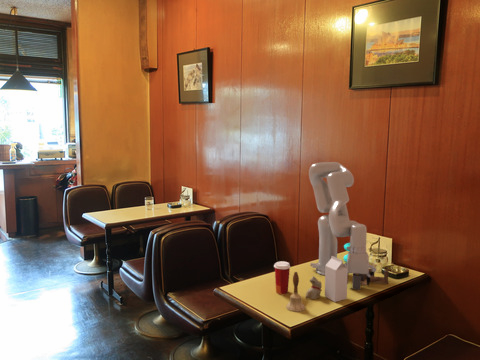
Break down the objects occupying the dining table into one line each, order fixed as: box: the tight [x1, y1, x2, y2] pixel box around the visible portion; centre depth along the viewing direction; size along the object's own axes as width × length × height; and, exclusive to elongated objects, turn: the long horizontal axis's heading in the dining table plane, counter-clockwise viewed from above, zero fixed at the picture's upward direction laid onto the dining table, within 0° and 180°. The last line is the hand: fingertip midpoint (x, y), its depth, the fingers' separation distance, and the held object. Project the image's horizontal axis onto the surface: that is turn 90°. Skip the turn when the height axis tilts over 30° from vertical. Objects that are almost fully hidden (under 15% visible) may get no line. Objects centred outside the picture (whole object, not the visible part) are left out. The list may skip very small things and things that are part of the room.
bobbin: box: [360, 274, 368, 286], centre depth 196 cm, size 7×7×11 cm
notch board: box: [365, 268, 390, 285], centre depth 198 cm, size 14×5×6 cm, turn 77°
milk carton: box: [324, 256, 349, 303], centre depth 177 cm, size 7×7×19 cm
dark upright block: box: [351, 273, 362, 291], centre depth 189 cm, size 4×4×8 cm
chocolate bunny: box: [305, 275, 323, 300], centre depth 179 cm, size 6×8×10 cm
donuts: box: [343, 242, 350, 263], centre depth 227 cm, size 10×10×10 cm
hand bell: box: [285, 271, 306, 313], centre depth 168 cm, size 8×8×16 cm
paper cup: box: [273, 260, 291, 295], centre depth 184 cm, size 8×8×14 cm
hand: (357, 283), depth 189 cm, fingers open, 9 cm apart
